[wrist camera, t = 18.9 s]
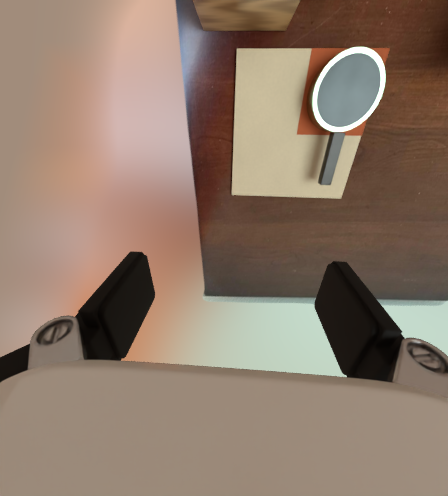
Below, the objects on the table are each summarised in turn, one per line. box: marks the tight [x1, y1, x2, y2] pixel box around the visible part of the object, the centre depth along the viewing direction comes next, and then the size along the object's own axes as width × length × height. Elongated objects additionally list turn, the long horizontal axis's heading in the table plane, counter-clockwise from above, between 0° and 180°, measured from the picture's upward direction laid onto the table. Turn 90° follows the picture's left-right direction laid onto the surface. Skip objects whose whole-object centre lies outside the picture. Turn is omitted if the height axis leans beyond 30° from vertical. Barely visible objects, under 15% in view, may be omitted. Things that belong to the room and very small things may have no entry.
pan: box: [306, 46, 386, 185], centre depth 32 cm, size 18×10×4 cm, turn 179°
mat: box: [232, 48, 390, 198], centre depth 35 cm, size 22×22×1 cm
